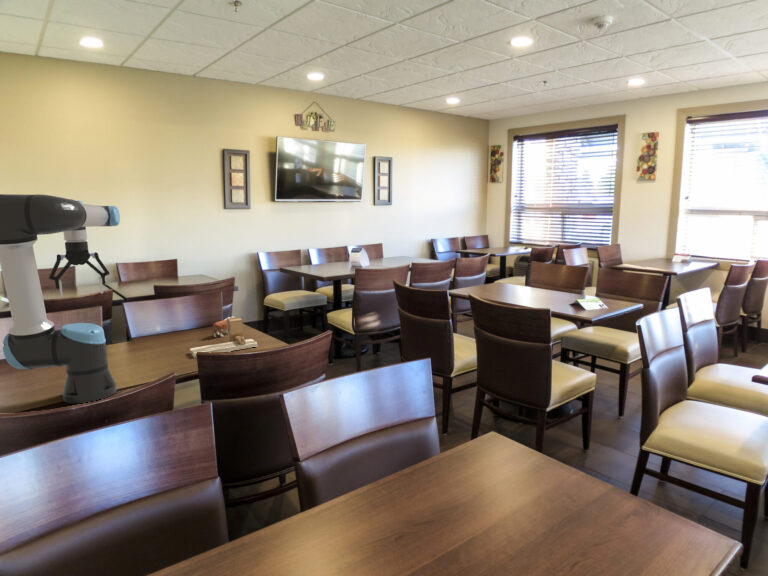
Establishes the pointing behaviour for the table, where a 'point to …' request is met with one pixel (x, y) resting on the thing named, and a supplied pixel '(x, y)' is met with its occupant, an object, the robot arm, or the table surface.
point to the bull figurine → (220, 327)
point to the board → (224, 347)
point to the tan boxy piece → (235, 330)
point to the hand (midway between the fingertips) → (82, 294)
